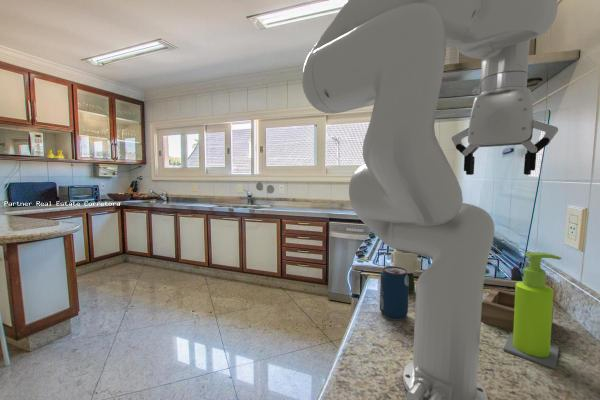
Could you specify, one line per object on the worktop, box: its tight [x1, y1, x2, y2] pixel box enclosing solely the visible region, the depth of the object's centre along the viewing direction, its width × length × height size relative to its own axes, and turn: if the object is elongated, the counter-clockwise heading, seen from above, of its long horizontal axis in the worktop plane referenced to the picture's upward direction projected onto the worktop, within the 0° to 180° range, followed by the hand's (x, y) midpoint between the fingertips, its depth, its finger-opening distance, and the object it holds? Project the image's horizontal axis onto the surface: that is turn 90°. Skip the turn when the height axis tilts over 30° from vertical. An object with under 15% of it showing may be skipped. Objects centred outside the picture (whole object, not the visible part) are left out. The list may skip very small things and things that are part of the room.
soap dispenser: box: [513, 251, 562, 357], centre depth 56 cm, size 6×7×20 cm
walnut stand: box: [481, 288, 555, 332], centre depth 69 cm, size 12×12×5 cm
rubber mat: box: [502, 331, 560, 370], centre depth 57 cm, size 9×8×1 cm
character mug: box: [390, 248, 422, 293], centre depth 87 cm, size 11×7×13 cm, turn 31°
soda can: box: [379, 265, 410, 321], centre depth 71 cm, size 7×7×12 cm
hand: (496, 174), depth 56 cm, fingers open, 9 cm apart
